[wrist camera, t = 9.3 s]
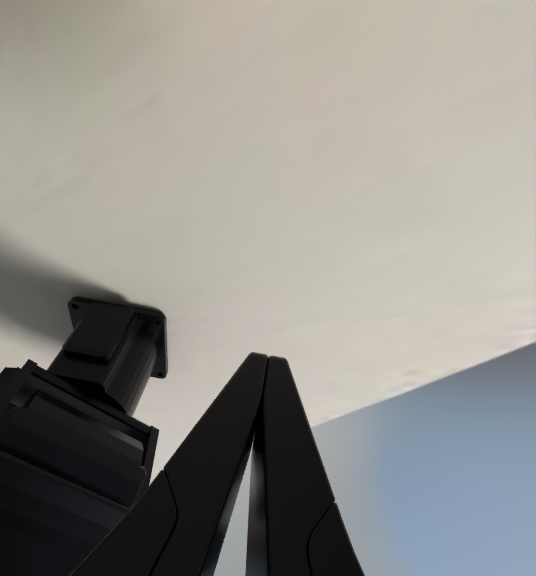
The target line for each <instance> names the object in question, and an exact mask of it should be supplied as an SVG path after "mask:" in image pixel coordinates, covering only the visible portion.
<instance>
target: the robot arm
mask: <svg viewBox="0 0 536 576" xmlns="http://www.w3.org/2000/svg"><path fill="white" fill-rule="evenodd" d="M76 304H77V305H76ZM68 308H69V312H70V316H71V320H72V324H73V329H74V330H73V332H72V333H71V335H70V336H69V337H68V339H67V340H66V342H65V343H64V345H63V346H62V349H61V351H60V352H59V354H58V355H57V356H56V358H55V359H54V361H53V362H52V363H51V365H50V366H49V368H48V369H47V371H46V370H45V369H43V368H41V367H39V366H37V363H35V362H33V361H32V360H30V359H28V361H27V362H26V363H25V365H24V366H23V367H22V368H21V369H20V368H19V367H17V368H7V367H5V368H4V370H3V371H2V372H1V373H0V576H213V575H214V572H215V568H216V565H217V562H218V558H219V555H220V552H221V548H222V545H223V542H224V538H225V535H226V532H227V528H228V525H229V522H230V518H231V515H232V511H233V508H234V505H235V502H236V498H237V495H238V492H239V488H240V485H241V482H242V479H243V475H244V472H245V469H246V465H247V462H248V459H249V455H250V451H251V447H252V457H251V477H250V496H249V497H250V498H249V515H248V536H247V556H246V575H245V576H365V575H364V573H363V571H362V568H361V566H360V564H359V562H358V559H357V557H356V554H355V552H354V550H353V547H352V544H351V542H350V539H349V536H348V534H347V531H346V529H345V526H344V523H343V520H342V517H341V514H340V511H339V509H338V506H337V504H336V503H334V501H335V497H334V495H333V492H332V489H331V486H330V483H329V480H328V477H327V474H326V471H325V468H324V466H323V463H322V460H321V457H320V454H319V451H318V448H317V445H316V442H315V440H314V436H313V434H312V431H311V428H310V425H309V422H308V419H307V416H306V413H305V410H304V407H303V405H302V402H301V399H300V396H299V393H298V390H297V387H296V384H295V381H294V378H293V376H292V373H291V370H290V367H289V364H288V361H287V360H286V359H285V358H282V357H277V356H269V358H268V356H267V355H266V354H261V353H255V352H251V353H250V354H249V355H248V356H247V358H246V359H245V360H244V362H243V363H242V364H241V366H240V367H239V368H238V370H237V371H236V372H235V373H234V375H233V376H232V377H231V379H230V380H229V381H228V383H227V384H226V385H225V387H224V388H223V389H222V391H221V392H220V393H219V395H218V396H217V397H216V399H215V400H214V401H213V403H212V404H211V405H210V407H209V408H208V409H207V411H206V412H205V413H204V415H203V416H202V417H201V419H200V420H199V421H198V422H197V424H196V425H195V426H194V428H193V429H192V430H191V432H190V433H189V434H188V436H187V437H186V438H185V440H184V441H183V442H182V444H181V445H180V446H179V448H178V449H177V450H176V452H175V453H174V454H173V456H172V457H171V458H170V460H169V461H168V462H167V464H166V465H165V466H164V470H161V471H160V472H159V474H158V475H157V476H156V478H155V479H154V480H153V482H152V483H151V484H150V486H149V483H150V478H151V472H152V467H153V461H154V456H155V450H156V445H157V439H158V434H159V429H157V428H155V427H153V426H148V425H146V424H144V423H142V422H141V421H139V420H137V419H135V418H133V417H132V416H133V414H134V412H135V409H136V407H137V405H138V402H139V400H140V398H141V396H142V393H143V391H144V389H145V386H146V384H147V382H148V380H149V377H155V378H162V379H163V378H165V377H166V375H167V373H168V359H167V329H166V317H165V316H164V314H162V313H160V312H155V311H149V310H144V309H139V308H133V307H128V306H122V305H117V304H111V303H106V302H100V301H95V300H90V299H84V298H79V297H73V298H72V299H71V300H70V301H69V303H68ZM157 319H158V320H157ZM253 438H254V439H253ZM252 443H253V446H252Z"/></svg>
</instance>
